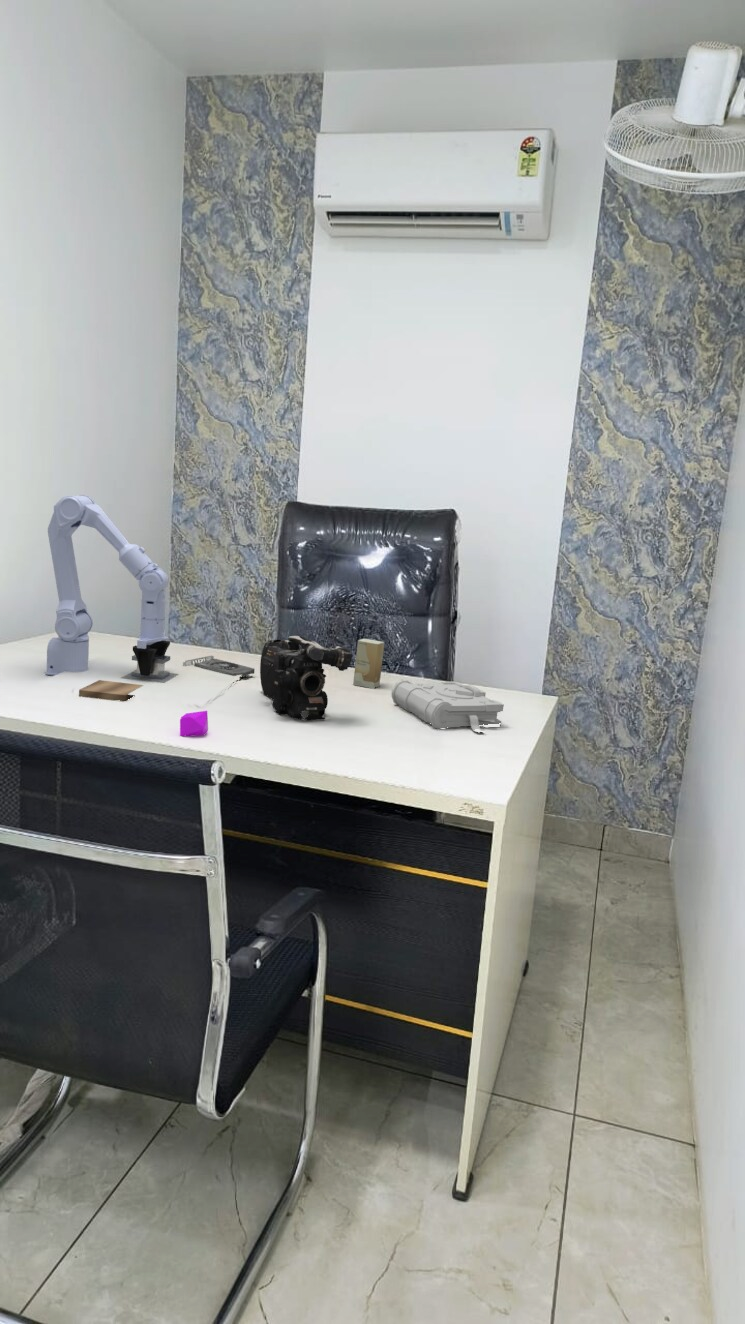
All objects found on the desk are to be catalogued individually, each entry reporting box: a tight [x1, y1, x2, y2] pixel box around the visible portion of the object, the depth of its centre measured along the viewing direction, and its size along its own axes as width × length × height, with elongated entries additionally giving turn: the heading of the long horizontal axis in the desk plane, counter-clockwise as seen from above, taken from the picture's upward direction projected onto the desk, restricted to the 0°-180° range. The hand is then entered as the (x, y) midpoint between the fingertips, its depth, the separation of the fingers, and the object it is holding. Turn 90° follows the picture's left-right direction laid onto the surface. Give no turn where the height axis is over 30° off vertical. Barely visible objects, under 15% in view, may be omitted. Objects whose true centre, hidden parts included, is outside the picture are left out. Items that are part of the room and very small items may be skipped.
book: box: [391, 679, 505, 731], centre depth 219 cm, size 19×28×8 cm
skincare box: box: [352, 638, 385, 689], centre depth 245 cm, size 6×4×12 cm
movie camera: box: [259, 635, 353, 722], centre depth 216 cm, size 31×18×18 cm, turn 26°
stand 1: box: [78, 679, 144, 702], centre depth 215 cm, size 11×11×2 cm
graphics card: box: [182, 655, 255, 678], centre depth 245 cm, size 17×4×12 cm
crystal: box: [179, 710, 209, 737], centre depth 189 cm, size 5×5×5 cm
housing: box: [130, 654, 171, 680], centre depth 229 cm, size 8×5×5 cm, turn 83°
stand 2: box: [120, 672, 179, 684], centre depth 230 cm, size 11×11×2 cm
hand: (150, 672), depth 230 cm, fingers open, 7 cm apart
